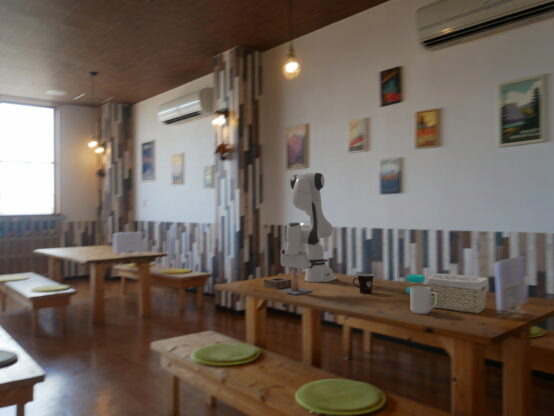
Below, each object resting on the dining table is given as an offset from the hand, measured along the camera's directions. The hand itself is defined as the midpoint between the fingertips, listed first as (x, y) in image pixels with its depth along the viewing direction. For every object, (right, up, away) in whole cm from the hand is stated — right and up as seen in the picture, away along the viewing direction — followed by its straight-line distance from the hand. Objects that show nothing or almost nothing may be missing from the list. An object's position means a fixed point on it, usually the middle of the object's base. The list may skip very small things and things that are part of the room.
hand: (294, 275), depth 257 cm
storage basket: (+75, -9, -45) cm, 88 cm away
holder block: (-10, -10, +14) cm, 20 cm away
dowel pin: (0, -9, 0) cm, 9 cm away
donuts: (+66, -9, -10) cm, 67 cm away
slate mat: (0, -10, 0) cm, 10 cm away
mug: (+56, -9, -53) cm, 78 cm away
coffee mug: (+38, -9, -5) cm, 39 cm away
